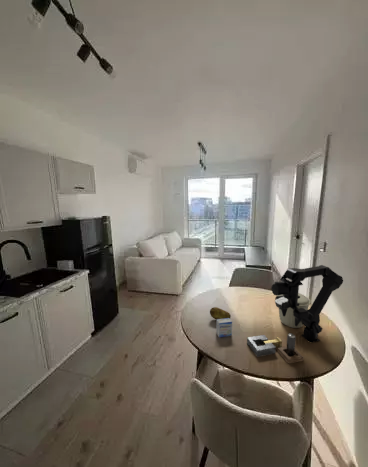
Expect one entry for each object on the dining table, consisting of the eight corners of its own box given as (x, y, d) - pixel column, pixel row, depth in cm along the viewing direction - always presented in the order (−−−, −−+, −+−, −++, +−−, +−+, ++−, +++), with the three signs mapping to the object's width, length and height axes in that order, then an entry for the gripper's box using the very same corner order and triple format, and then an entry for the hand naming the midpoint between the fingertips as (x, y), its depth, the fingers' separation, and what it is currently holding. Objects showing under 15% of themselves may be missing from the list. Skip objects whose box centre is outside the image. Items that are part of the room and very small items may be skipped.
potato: (229, 325, 129) (229, 313, 128) (208, 321, 133) (208, 309, 132) (231, 318, 137) (231, 306, 136) (211, 314, 141) (211, 303, 140)
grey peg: (290, 351, 106) (292, 332, 104) (295, 356, 102) (297, 337, 101) (284, 352, 105) (285, 333, 103) (289, 358, 102) (290, 338, 100)
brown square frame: (291, 349, 109) (291, 345, 108) (303, 360, 101) (303, 356, 101) (277, 351, 107) (277, 348, 107) (288, 363, 99) (288, 359, 99)
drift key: (277, 343, 113) (278, 336, 113) (281, 347, 110) (282, 340, 110) (262, 345, 111) (262, 339, 111) (266, 349, 108) (266, 343, 108)
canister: (313, 333, 121) (316, 299, 117) (279, 330, 124) (281, 296, 121) (302, 316, 138) (305, 286, 135) (272, 313, 142) (274, 284, 138)
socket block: (263, 340, 115) (264, 334, 115) (275, 353, 106) (275, 347, 105) (247, 343, 113) (247, 337, 113) (257, 356, 104) (257, 350, 103)
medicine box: (218, 337, 118) (219, 323, 117) (216, 332, 122) (216, 319, 121) (232, 335, 120) (232, 321, 118) (228, 331, 124) (229, 317, 123)
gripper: (267, 287, 117) (265, 313, 119) (290, 303, 99) (288, 333, 101) (285, 285, 119) (283, 311, 121) (311, 300, 101) (308, 330, 103)
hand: (289, 320), depth 112 cm, fingers open, 9 cm apart
